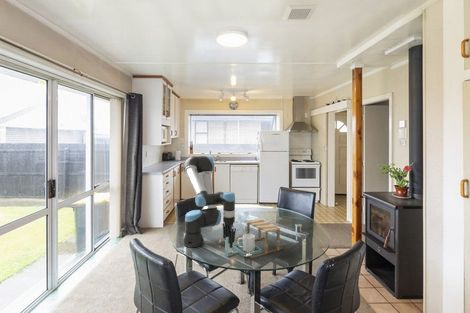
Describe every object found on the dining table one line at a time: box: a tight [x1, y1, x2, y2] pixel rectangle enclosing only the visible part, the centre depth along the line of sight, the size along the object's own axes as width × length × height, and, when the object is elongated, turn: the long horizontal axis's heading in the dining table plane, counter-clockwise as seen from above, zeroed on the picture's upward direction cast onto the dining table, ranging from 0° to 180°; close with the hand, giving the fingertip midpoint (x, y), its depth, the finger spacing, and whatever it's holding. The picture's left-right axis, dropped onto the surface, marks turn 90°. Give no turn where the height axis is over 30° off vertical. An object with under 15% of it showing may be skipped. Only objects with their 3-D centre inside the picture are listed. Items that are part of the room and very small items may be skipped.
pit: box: [268, 238, 287, 248], centre depth 194 cm, size 14×7×1 cm, turn 32°
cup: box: [236, 233, 256, 252], centre depth 180 cm, size 8×12×10 cm
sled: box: [224, 236, 264, 258], centre depth 177 cm, size 18×23×12 cm
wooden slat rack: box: [246, 218, 284, 259], centre depth 184 cm, size 23×28×16 cm
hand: (228, 250), depth 172 cm, fingers closed on sled, 3 cm apart
